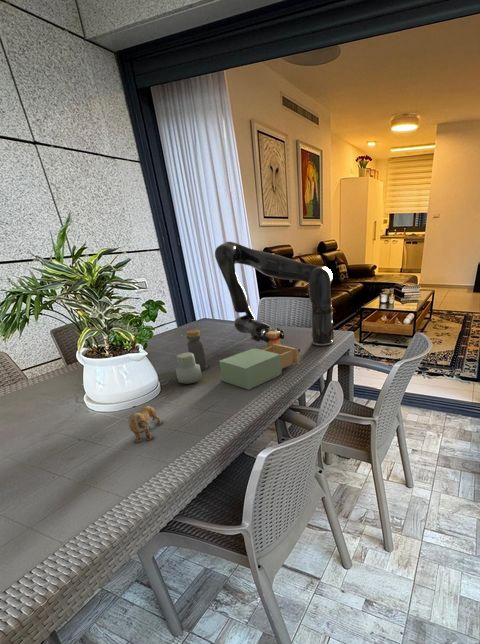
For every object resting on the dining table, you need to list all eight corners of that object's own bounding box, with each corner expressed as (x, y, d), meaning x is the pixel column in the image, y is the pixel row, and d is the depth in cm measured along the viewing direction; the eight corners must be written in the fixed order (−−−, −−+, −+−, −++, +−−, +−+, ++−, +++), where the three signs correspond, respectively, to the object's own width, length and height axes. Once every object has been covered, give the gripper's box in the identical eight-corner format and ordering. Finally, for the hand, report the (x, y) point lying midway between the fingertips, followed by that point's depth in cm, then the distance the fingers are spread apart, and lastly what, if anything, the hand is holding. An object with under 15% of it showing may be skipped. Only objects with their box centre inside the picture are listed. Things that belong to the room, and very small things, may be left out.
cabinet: (256, 366, 140) (254, 348, 136) (281, 374, 132) (280, 354, 128) (222, 381, 128) (219, 360, 124) (248, 389, 120) (245, 368, 117)
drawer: (283, 354, 149) (282, 340, 147) (306, 359, 142) (305, 345, 140) (247, 368, 135) (245, 354, 133) (271, 375, 129) (269, 360, 126)
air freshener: (203, 384, 126) (198, 357, 121) (179, 388, 123) (173, 361, 118) (200, 373, 135) (195, 348, 130) (178, 377, 132) (171, 352, 127)
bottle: (210, 365, 142) (203, 329, 135) (204, 371, 137) (197, 333, 130) (196, 365, 143) (188, 329, 136) (190, 370, 138) (181, 333, 131)
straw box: (271, 348, 154) (269, 330, 150) (281, 349, 152) (279, 331, 148) (267, 352, 150) (265, 333, 146) (277, 352, 149) (275, 334, 145)
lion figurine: (154, 446, 91) (145, 416, 87) (132, 449, 90) (121, 419, 86) (163, 419, 103) (155, 392, 99) (143, 422, 102) (135, 394, 98)
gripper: (243, 324, 154) (258, 332, 141) (272, 319, 161) (290, 326, 148) (245, 341, 157) (260, 350, 145) (274, 335, 164) (291, 343, 151)
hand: (275, 338), depth 146 cm, fingers closed on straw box, 6 cm apart
